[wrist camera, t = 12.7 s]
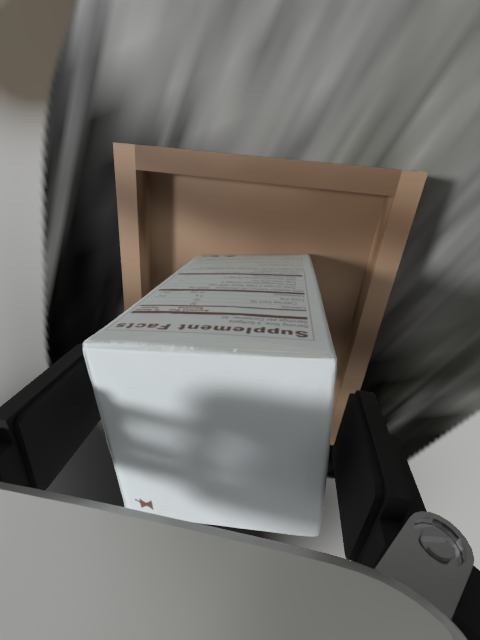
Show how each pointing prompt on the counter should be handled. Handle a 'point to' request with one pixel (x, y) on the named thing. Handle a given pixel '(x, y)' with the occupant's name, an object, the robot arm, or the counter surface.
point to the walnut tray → (271, 230)
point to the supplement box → (221, 394)
